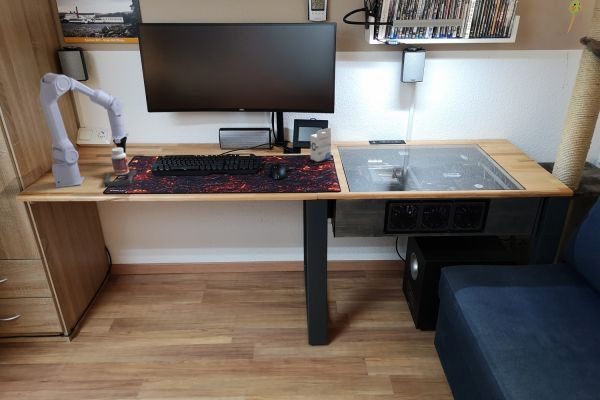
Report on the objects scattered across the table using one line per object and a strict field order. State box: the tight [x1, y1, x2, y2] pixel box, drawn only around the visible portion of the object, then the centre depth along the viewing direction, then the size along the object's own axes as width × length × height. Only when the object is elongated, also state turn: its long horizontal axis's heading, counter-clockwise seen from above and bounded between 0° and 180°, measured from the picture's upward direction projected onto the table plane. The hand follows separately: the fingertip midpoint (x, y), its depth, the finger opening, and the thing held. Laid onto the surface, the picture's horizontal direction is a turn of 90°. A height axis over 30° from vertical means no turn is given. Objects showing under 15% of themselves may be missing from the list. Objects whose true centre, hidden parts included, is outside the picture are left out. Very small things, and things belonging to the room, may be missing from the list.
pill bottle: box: [110, 147, 130, 176], centre depth 190 cm, size 6×6×11 cm
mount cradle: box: [103, 169, 138, 188], centre depth 185 cm, size 13×12×2 cm
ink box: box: [310, 127, 332, 163], centre depth 203 cm, size 9×5×15 cm, turn 126°
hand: (123, 153), depth 200 cm, fingers closed
